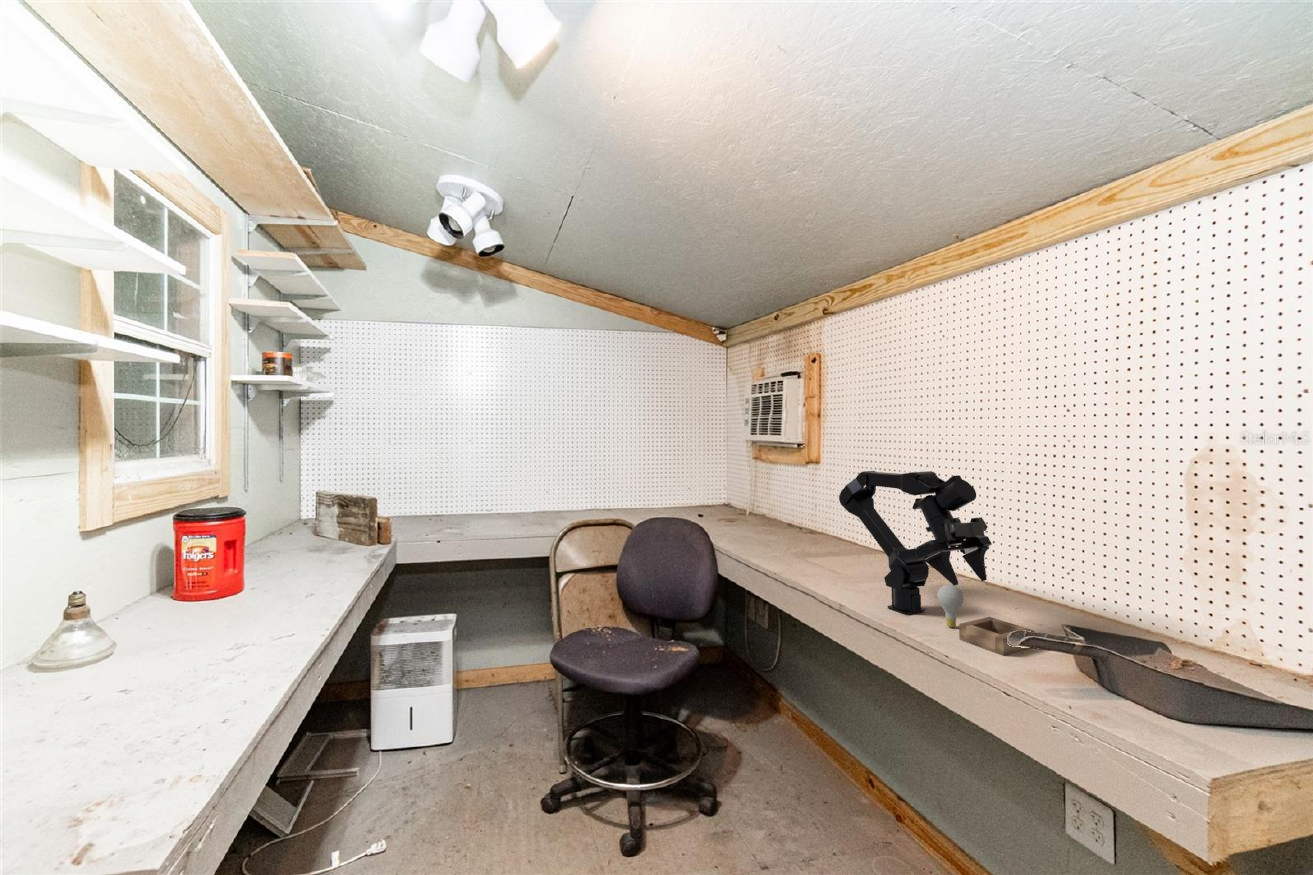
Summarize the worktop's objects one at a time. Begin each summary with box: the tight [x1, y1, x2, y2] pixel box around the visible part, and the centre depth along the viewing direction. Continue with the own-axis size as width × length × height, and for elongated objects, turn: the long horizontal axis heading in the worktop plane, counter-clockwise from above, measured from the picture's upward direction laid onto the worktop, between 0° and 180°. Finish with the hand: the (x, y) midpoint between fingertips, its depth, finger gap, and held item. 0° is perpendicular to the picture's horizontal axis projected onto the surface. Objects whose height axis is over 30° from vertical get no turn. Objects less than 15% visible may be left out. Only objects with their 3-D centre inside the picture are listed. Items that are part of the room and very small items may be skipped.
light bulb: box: [936, 584, 965, 629], centre depth 129 cm, size 6×5×10 cm
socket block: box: [958, 616, 1035, 657], centre depth 119 cm, size 10×10×4 cm
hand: (970, 582), depth 124 cm, fingers open, 9 cm apart
